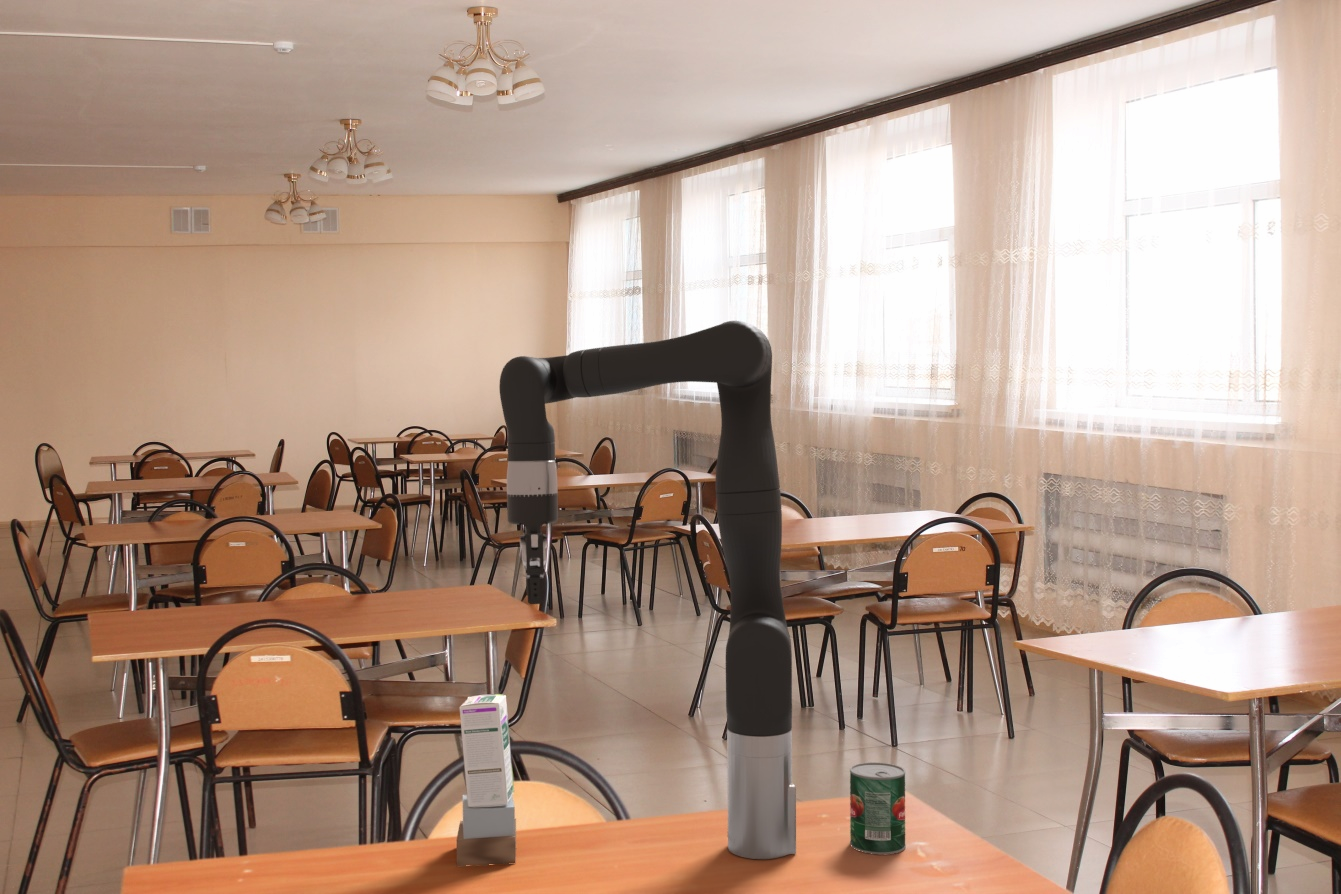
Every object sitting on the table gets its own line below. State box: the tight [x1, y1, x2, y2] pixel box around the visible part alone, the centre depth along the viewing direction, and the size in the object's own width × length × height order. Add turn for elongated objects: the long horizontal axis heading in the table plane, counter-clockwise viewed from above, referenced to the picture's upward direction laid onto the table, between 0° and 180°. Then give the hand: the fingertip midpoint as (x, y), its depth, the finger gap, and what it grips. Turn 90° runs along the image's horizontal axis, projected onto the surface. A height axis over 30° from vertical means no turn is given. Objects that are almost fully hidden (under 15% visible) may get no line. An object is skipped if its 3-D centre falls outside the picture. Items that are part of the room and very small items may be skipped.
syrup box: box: [459, 693, 515, 807], centre depth 168 cm, size 6×6×14 cm
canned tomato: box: [849, 762, 906, 856], centre depth 171 cm, size 8×8×11 cm
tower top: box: [462, 794, 516, 839], centre depth 168 cm, size 7×7×4 cm
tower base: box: [456, 818, 517, 867], centre depth 168 cm, size 8×8×4 cm
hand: (534, 599), depth 178 cm, fingers open, 8 cm apart
